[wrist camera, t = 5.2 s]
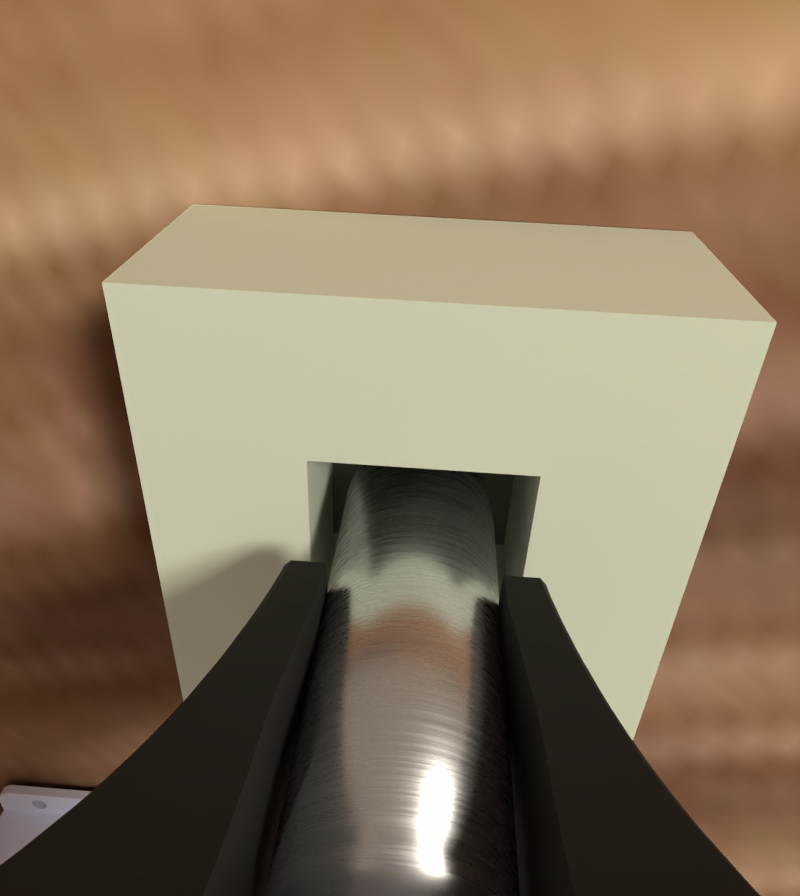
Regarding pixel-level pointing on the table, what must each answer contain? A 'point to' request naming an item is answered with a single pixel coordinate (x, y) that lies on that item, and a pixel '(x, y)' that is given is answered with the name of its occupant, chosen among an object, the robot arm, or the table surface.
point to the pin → (404, 704)
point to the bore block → (433, 405)
